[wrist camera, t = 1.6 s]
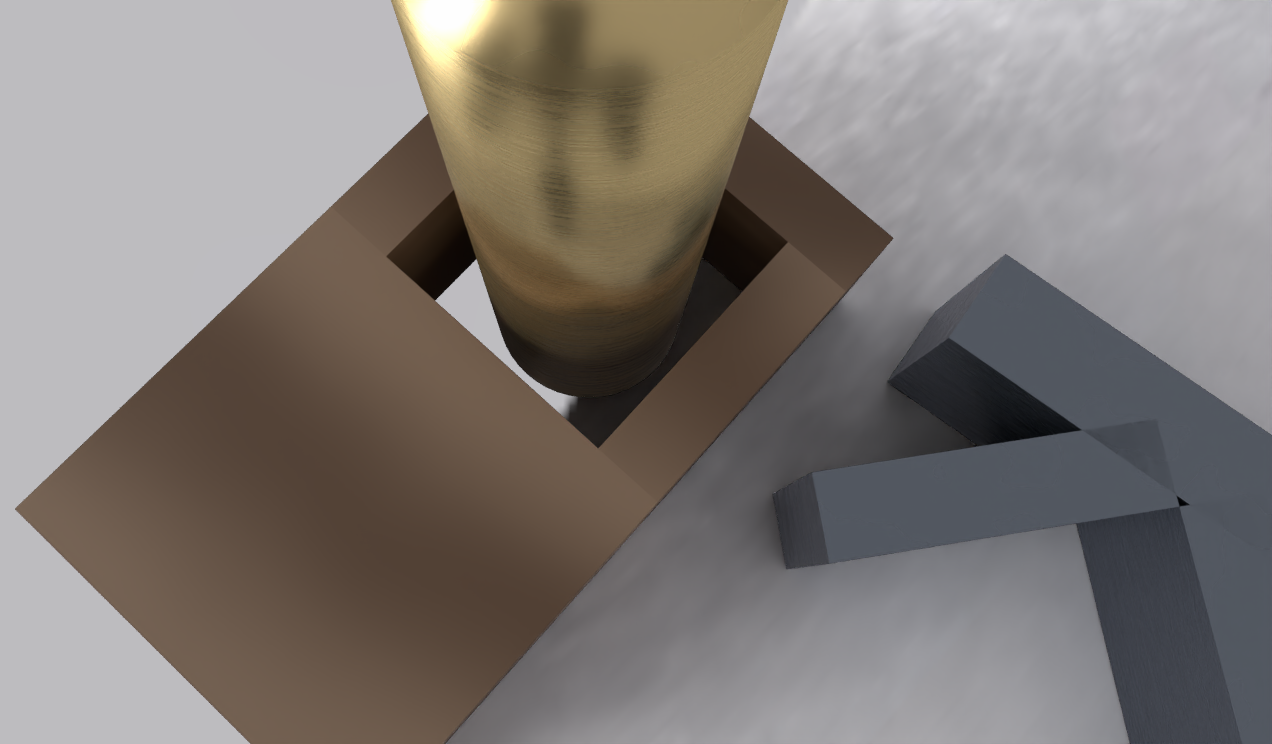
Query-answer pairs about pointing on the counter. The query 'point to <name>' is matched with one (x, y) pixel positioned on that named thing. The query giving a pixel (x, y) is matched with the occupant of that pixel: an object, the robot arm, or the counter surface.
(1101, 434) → the steel V-block
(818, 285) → the wooden socket block
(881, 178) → the counter surface
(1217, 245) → the counter surface
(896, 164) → the counter surface
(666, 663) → the counter surface
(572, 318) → the brass axle
